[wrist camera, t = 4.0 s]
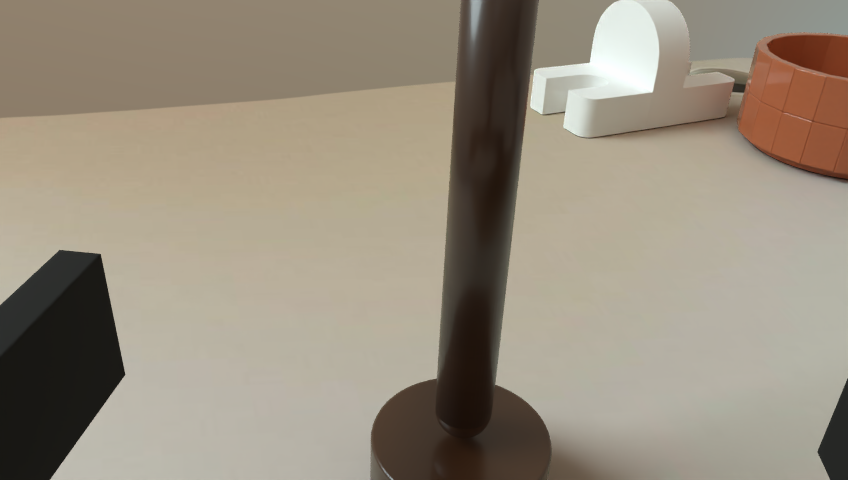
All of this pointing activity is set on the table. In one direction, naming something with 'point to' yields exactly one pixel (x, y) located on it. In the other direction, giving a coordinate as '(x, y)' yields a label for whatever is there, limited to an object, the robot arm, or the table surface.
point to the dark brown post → (474, 277)
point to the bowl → (799, 101)
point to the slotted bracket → (632, 76)
